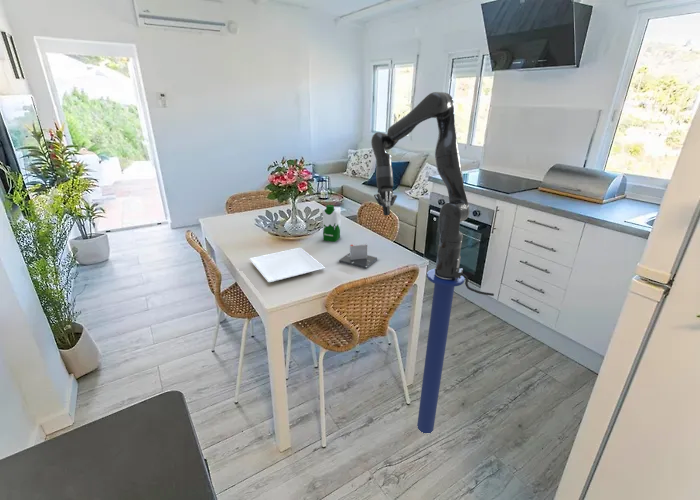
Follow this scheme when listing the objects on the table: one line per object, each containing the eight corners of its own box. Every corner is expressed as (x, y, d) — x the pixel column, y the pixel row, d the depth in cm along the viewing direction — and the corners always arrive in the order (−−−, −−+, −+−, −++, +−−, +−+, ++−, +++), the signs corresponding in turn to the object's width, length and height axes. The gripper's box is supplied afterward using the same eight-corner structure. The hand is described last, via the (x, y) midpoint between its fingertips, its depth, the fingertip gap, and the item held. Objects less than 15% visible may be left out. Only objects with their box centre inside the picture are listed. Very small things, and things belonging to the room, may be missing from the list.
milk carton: (321, 241, 188) (320, 206, 180) (327, 236, 196) (327, 201, 188) (336, 244, 186) (336, 207, 178) (342, 238, 194) (342, 203, 186)
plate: (325, 271, 154) (325, 267, 153) (268, 286, 141) (268, 281, 140) (300, 250, 174) (300, 246, 173) (249, 262, 161) (248, 257, 160)
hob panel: (377, 260, 167) (377, 257, 166) (365, 269, 157) (365, 266, 156) (351, 254, 173) (351, 251, 172) (338, 263, 163) (338, 259, 162)
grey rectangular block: (365, 257, 166) (366, 243, 163) (366, 258, 164) (367, 244, 162) (349, 258, 164) (350, 244, 161) (350, 260, 162) (350, 245, 160)
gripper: (379, 174, 152) (382, 214, 152) (400, 176, 160) (402, 214, 160) (368, 177, 158) (370, 216, 158) (389, 180, 166) (391, 216, 166)
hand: (386, 215), depth 159 cm, fingers closed
